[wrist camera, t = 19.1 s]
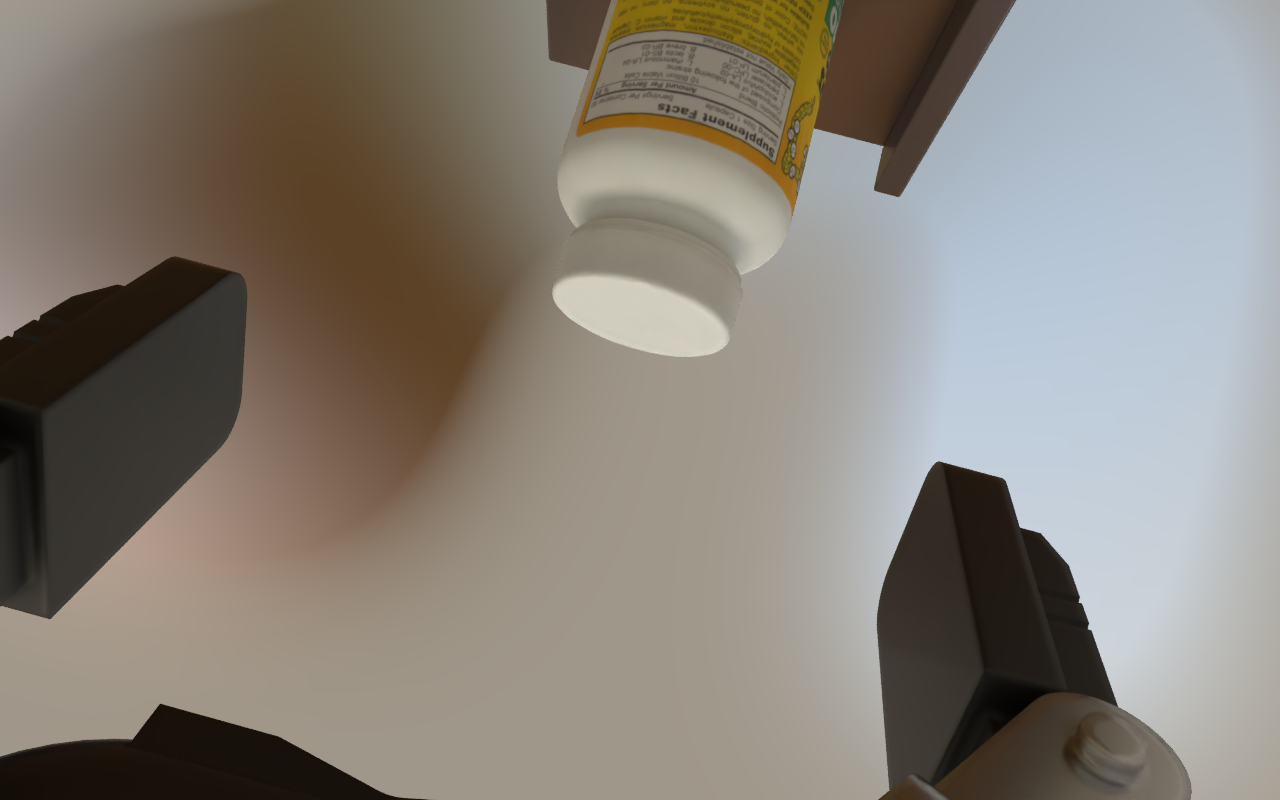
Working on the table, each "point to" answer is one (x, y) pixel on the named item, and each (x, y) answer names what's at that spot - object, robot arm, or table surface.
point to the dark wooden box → (859, 68)
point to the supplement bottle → (687, 163)
